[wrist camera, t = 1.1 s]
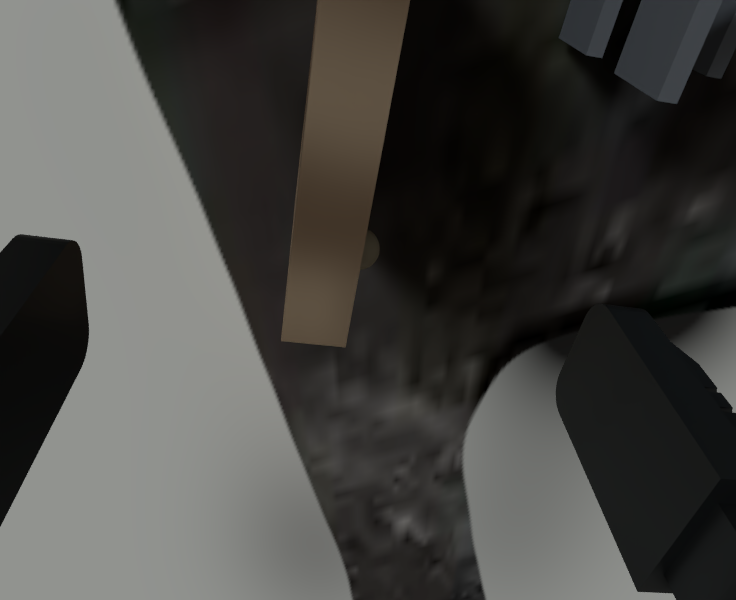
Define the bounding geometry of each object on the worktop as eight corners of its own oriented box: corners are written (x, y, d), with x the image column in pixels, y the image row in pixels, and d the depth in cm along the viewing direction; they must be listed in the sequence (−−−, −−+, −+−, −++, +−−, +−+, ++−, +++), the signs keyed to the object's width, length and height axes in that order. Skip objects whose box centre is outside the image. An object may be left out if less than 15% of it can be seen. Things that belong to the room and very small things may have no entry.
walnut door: (330, -122, 21) (333, -130, 12) (422, -103, 22) (491, -98, 13) (295, 193, 28) (280, 340, 19) (367, 202, 28) (386, 351, 19)
